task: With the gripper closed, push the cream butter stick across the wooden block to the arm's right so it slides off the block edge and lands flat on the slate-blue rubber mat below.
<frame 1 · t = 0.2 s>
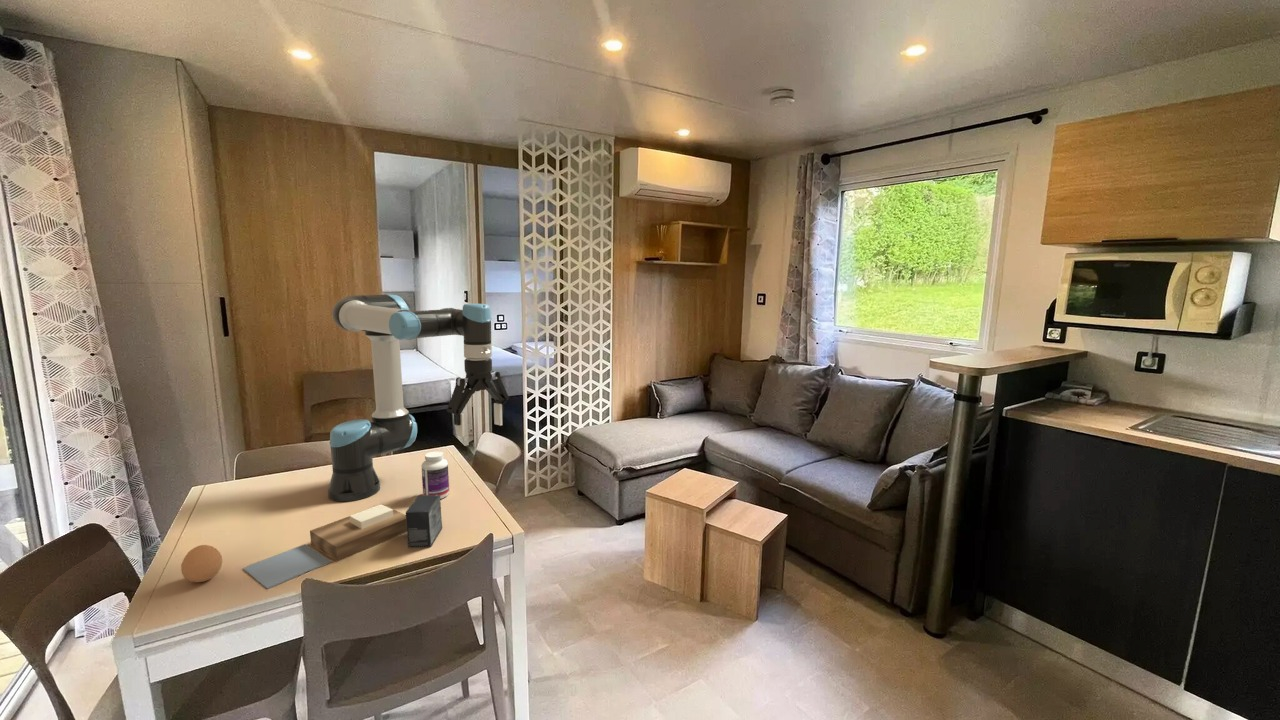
hand: (480, 430, 150), 28 cm above the table, fingers open, 13 cm apart
egg: (204, 580, 121), on the table
mat: (287, 565, 128), on the table
wooden block: (362, 537, 142), on the table
pill bottle: (436, 496, 169), on the table
cream butter stick: (372, 519, 144), point 4 cm above the table, touching wooden block
small box: (425, 538, 143), on the table
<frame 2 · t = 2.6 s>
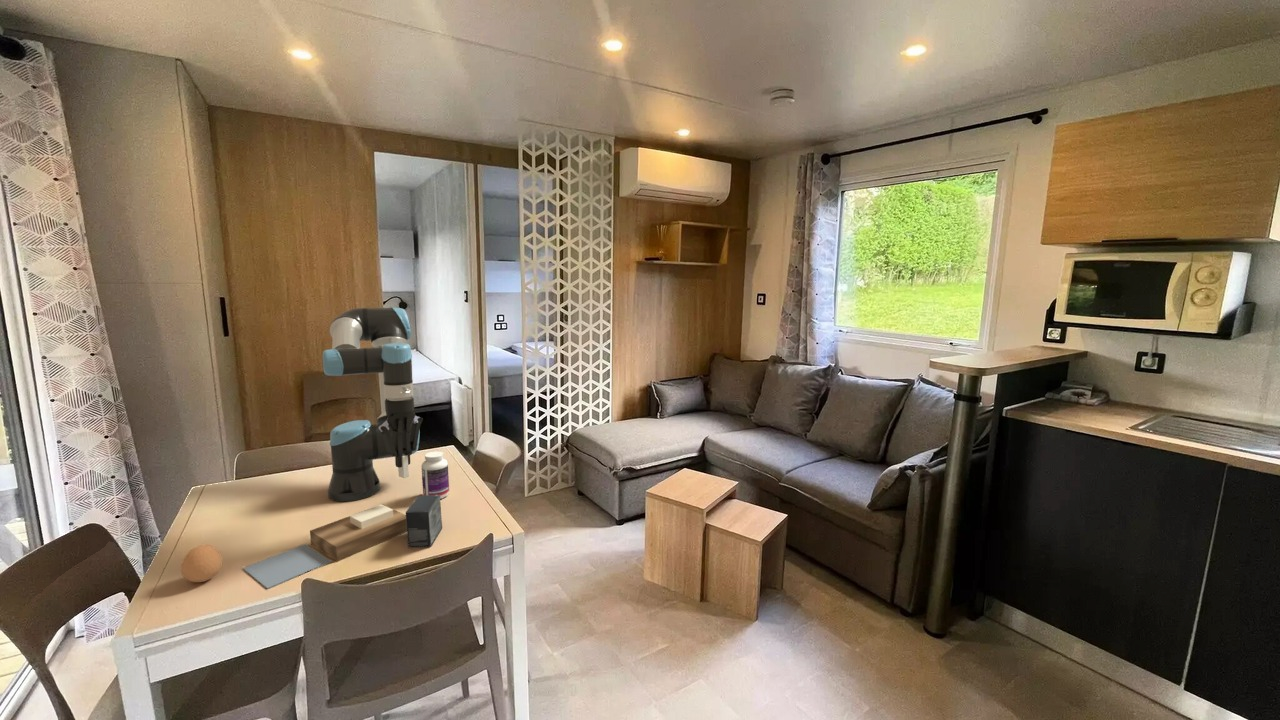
hand: (403, 476, 150), 14 cm above the table, fingers closed
nothing on the table moved.
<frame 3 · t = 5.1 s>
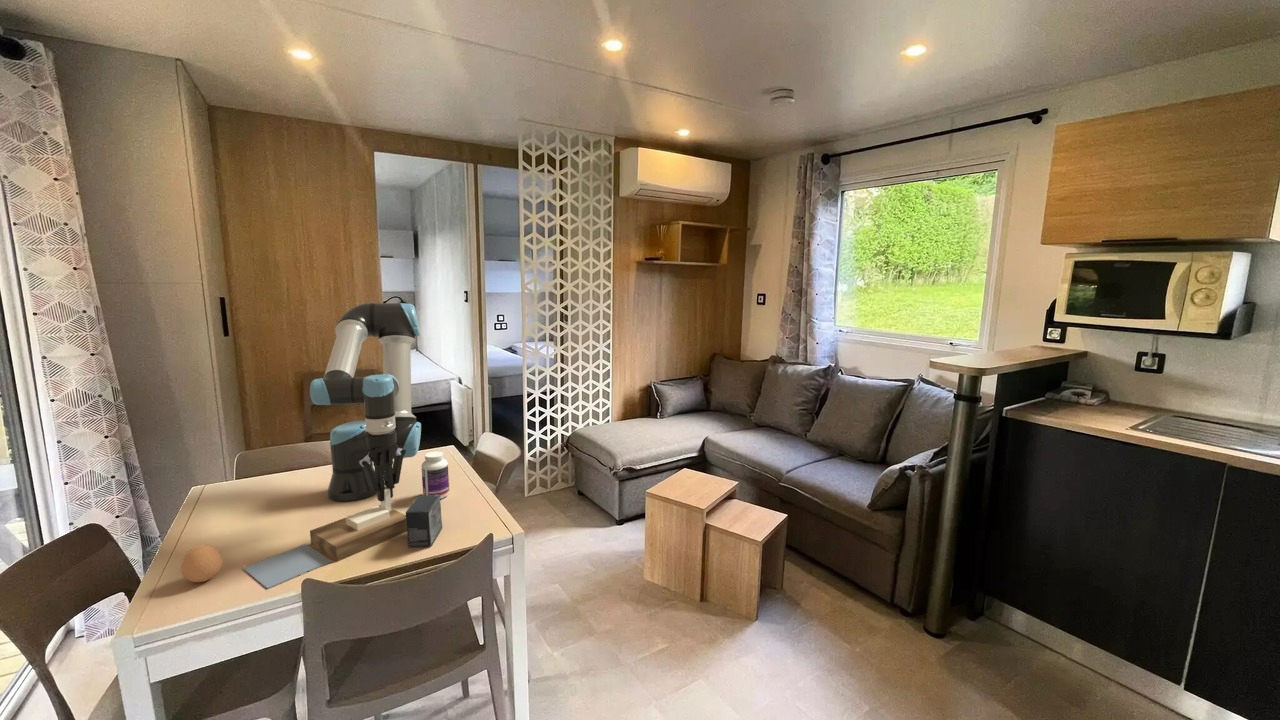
hand: (386, 510, 147), 5 cm above the table, fingers closed
cream butter stick: (368, 521, 143), point 4 cm above the table, touching gripper
everything else where it was.
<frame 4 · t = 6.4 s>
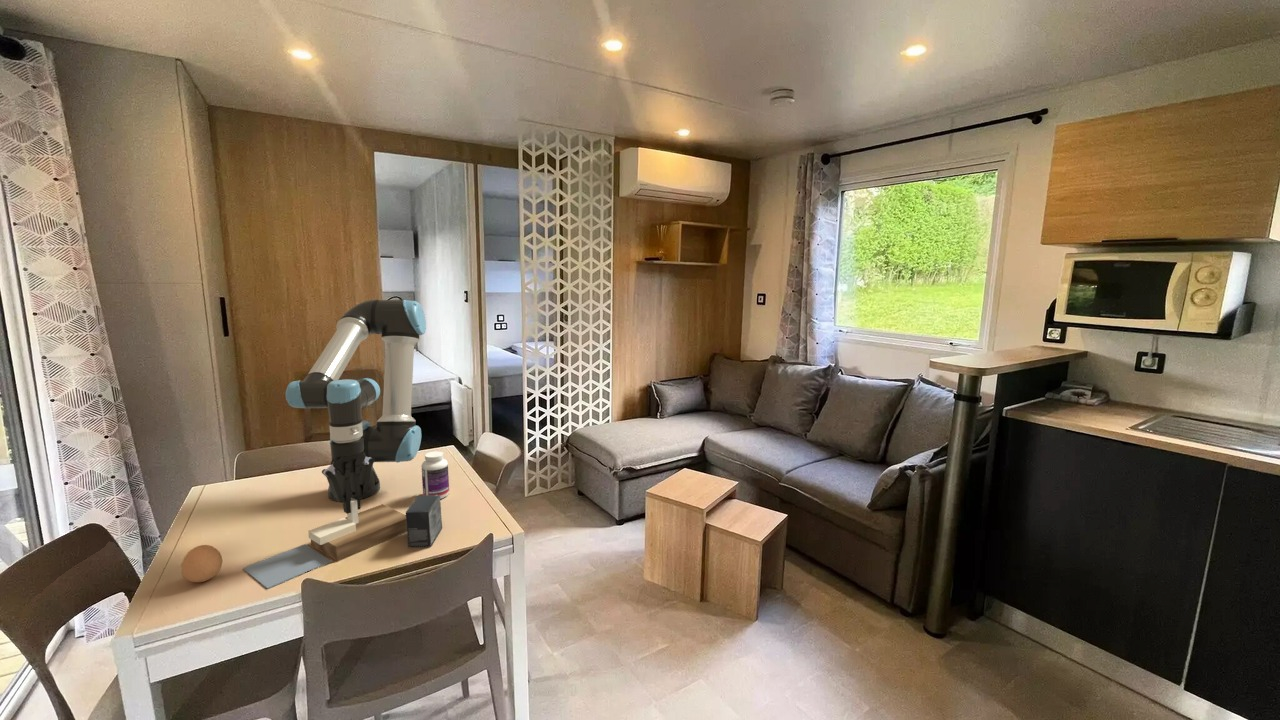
hand: (353, 522, 139), 5 cm above the table, fingers closed
cream butter stick: (332, 534, 135), point 4 cm above the table, touching wooden block
everything else where it was.
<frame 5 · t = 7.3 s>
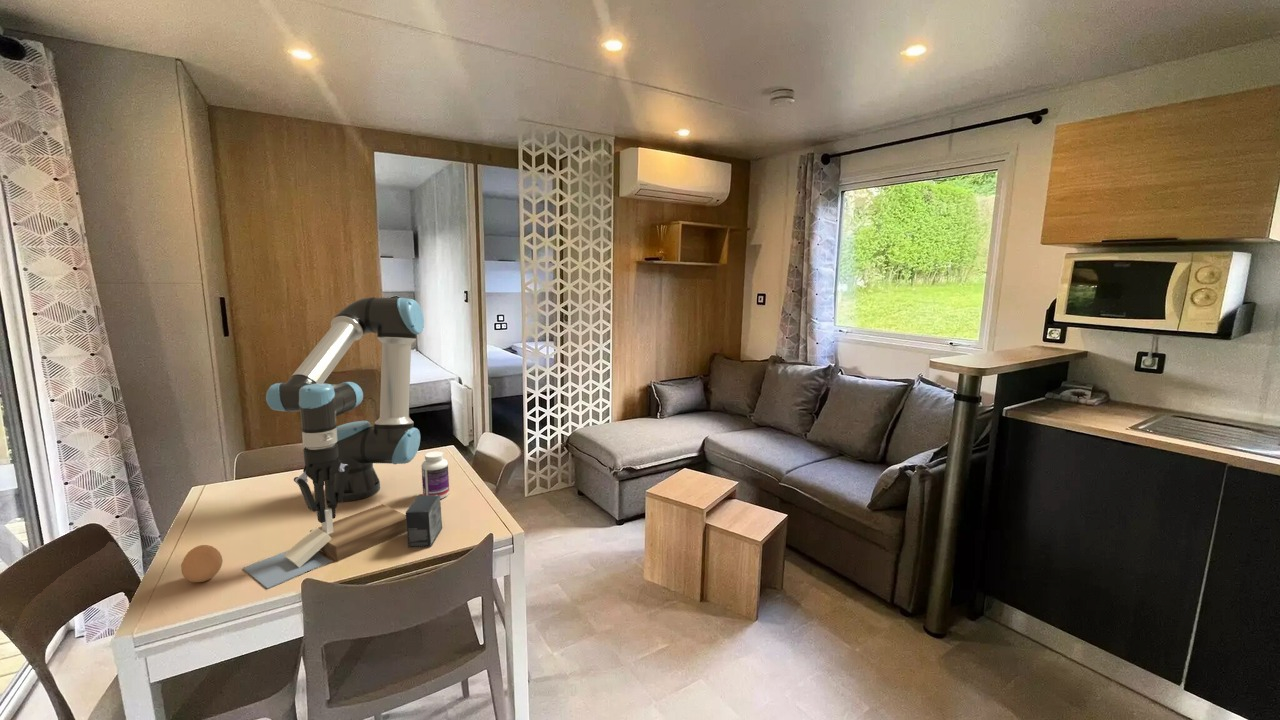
hand: (327, 531, 134), 5 cm above the table, fingers closed
cream butter stick: (310, 549, 131), point 2 cm above the table, tilted 28°, touching gripper
everything else where it was.
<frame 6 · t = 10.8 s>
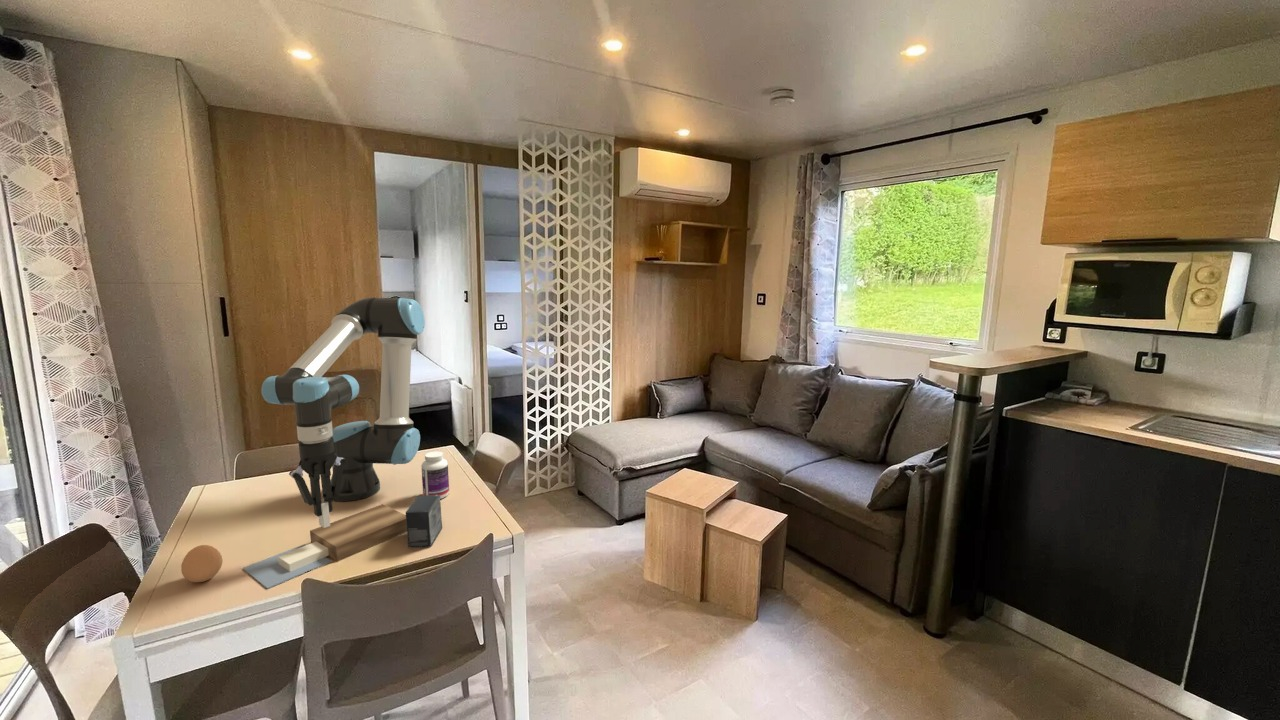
hand: (324, 525, 134), 7 cm above the table, fingers closed
cream butter stick: (304, 559, 130), resting on mat
everything else where it was.
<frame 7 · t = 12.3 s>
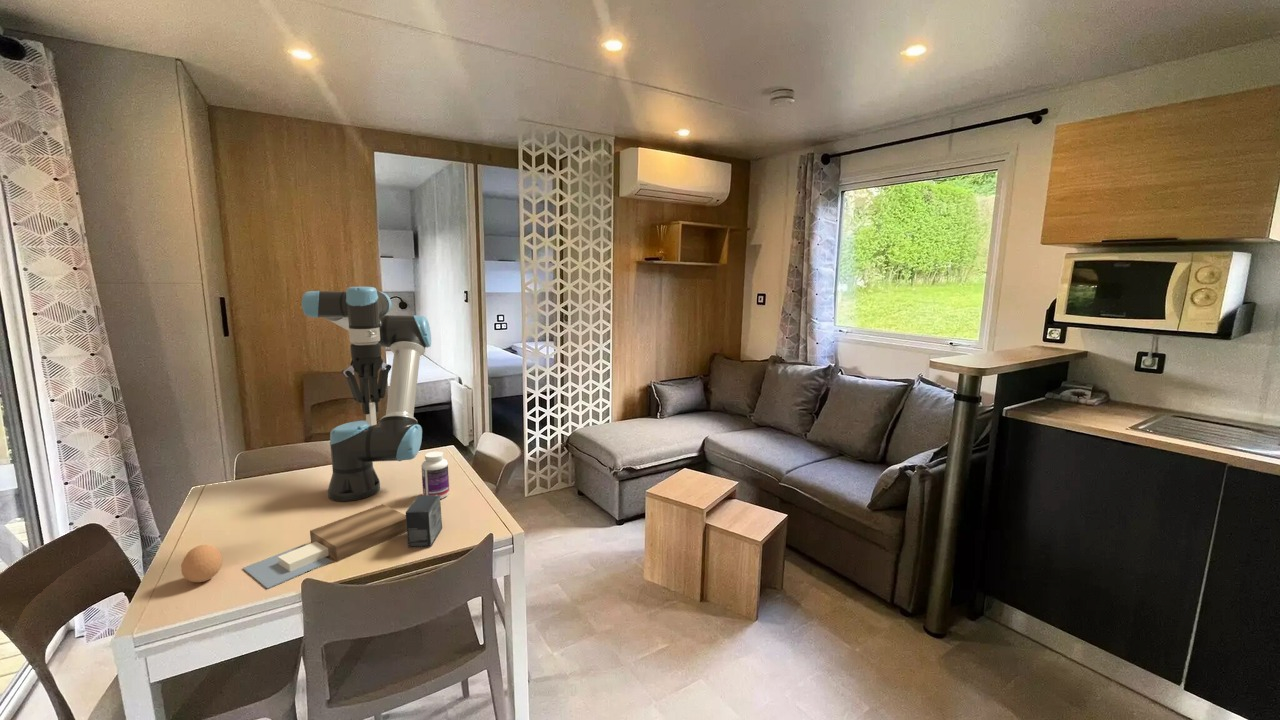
hand: (371, 424, 147), 29 cm above the table, fingers closed
nothing on the table moved.
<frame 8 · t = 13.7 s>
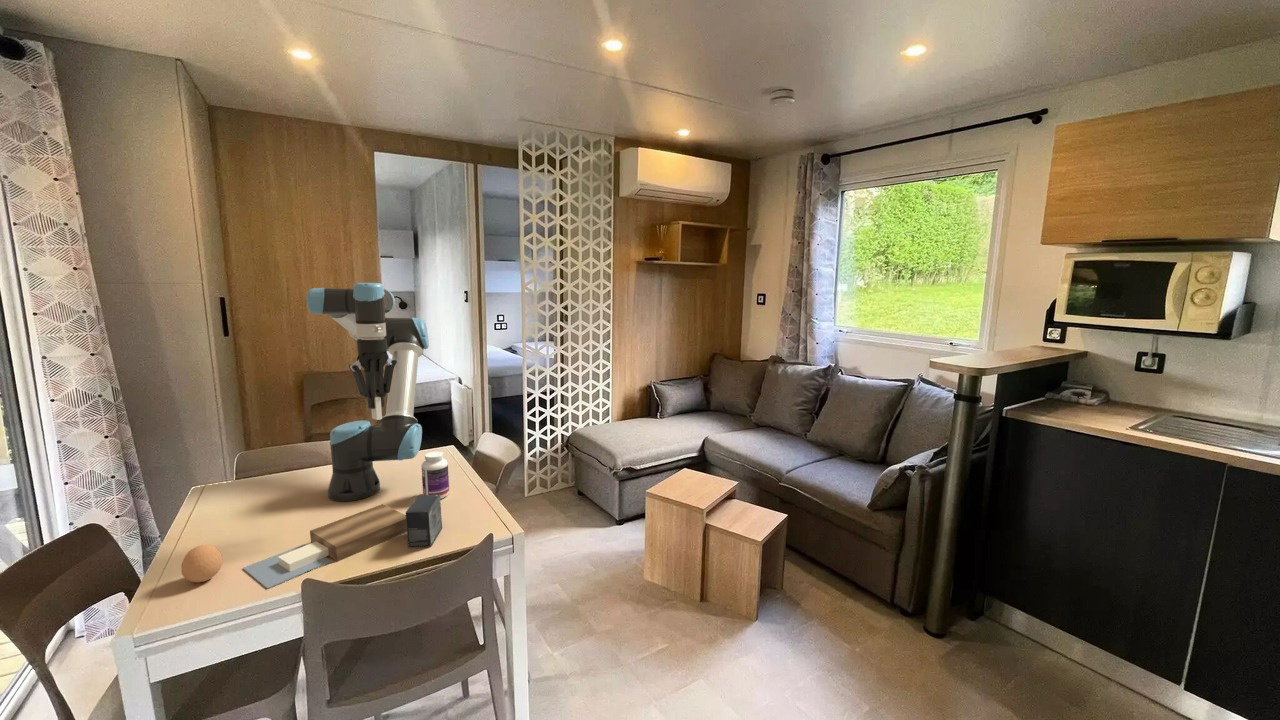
hand: (377, 418, 149), 30 cm above the table, fingers closed
nothing on the table moved.
at the end: cream butter stick resting on mat; cream butter stick inside the target area on the mat (3.4 cm from its centre), point 0.3 cm above the mat's base; cream butter stick touching mat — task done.
